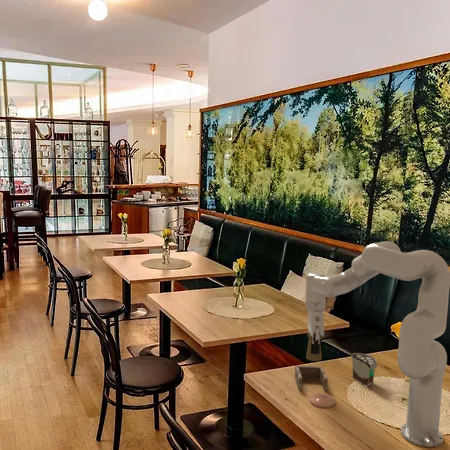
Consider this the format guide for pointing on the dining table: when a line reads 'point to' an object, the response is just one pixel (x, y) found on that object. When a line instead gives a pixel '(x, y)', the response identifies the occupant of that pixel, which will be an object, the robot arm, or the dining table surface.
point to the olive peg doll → (310, 356)
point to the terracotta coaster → (322, 400)
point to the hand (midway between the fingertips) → (314, 350)
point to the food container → (364, 368)
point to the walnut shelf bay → (310, 375)
